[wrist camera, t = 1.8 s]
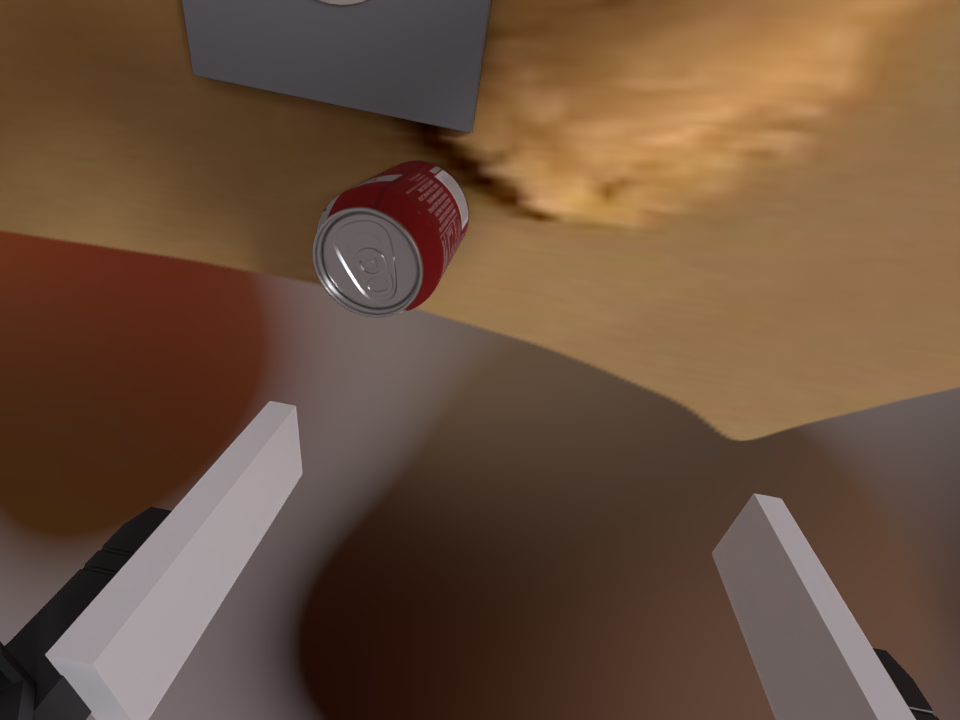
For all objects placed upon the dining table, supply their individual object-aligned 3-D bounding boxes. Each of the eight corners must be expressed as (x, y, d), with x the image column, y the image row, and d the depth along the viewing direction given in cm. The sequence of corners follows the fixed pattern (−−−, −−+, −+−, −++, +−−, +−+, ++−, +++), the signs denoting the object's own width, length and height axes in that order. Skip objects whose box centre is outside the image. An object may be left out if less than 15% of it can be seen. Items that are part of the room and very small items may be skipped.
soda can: (456, 148, 29) (410, 177, 19) (480, 246, 32) (451, 317, 22) (364, 172, 30) (274, 211, 20) (395, 264, 34) (332, 337, 23)
